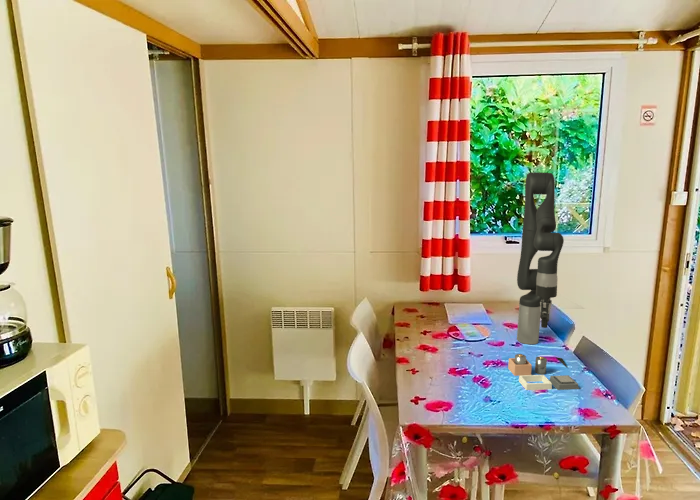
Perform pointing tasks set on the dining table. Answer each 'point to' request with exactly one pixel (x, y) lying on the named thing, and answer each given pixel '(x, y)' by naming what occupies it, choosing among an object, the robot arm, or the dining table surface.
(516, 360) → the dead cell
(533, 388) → the trough
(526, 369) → the tan open box
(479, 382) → the dining table surface
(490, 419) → the dining table surface
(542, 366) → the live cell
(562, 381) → the plate
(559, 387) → the grey square pedestal
